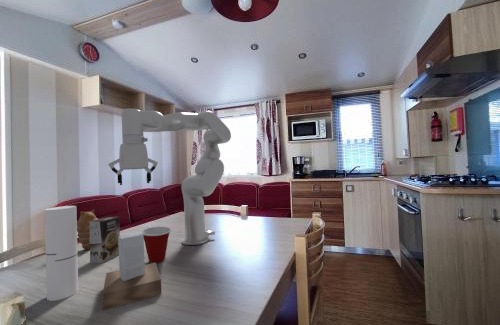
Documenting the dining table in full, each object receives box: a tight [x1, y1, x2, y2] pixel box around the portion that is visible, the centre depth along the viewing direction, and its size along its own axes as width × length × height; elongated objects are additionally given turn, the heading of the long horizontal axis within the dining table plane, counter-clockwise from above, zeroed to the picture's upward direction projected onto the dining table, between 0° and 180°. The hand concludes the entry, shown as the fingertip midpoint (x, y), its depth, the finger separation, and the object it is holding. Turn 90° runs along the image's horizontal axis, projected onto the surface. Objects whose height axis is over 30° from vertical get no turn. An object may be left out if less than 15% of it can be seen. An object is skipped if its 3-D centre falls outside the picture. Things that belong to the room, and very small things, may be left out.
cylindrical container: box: [44, 205, 79, 302], centre depth 68 cm, size 7×7×25 cm
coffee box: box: [89, 216, 121, 264], centre depth 95 cm, size 9×6×16 cm
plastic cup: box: [140, 225, 172, 264], centre depth 90 cm, size 11×11×12 cm
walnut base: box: [102, 263, 163, 310], centre depth 68 cm, size 14×14×4 cm
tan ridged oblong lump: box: [77, 209, 99, 250], centre depth 107 cm, size 9×8×18 cm
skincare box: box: [118, 231, 146, 281], centre depth 68 cm, size 6×4×12 cm
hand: (135, 184), depth 91 cm, fingers open, 9 cm apart
